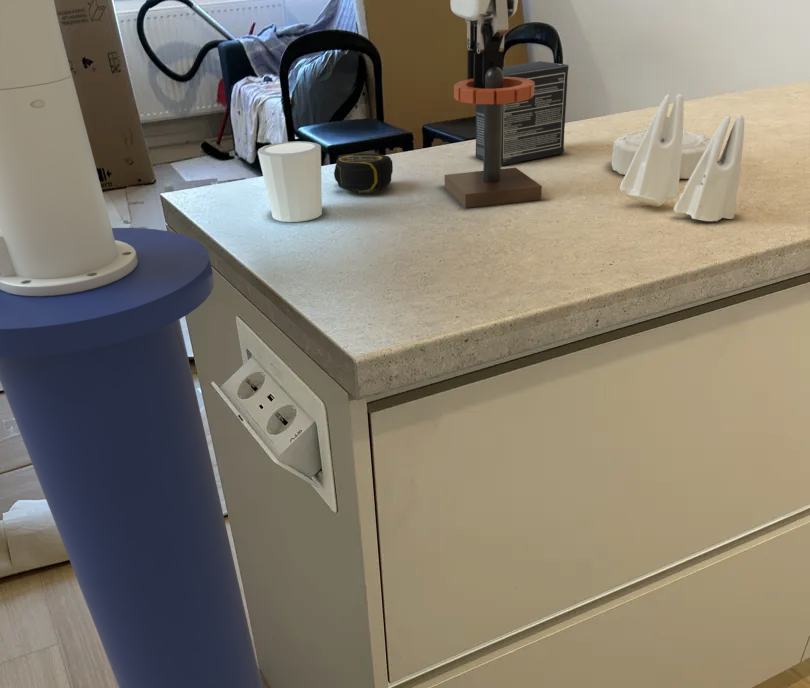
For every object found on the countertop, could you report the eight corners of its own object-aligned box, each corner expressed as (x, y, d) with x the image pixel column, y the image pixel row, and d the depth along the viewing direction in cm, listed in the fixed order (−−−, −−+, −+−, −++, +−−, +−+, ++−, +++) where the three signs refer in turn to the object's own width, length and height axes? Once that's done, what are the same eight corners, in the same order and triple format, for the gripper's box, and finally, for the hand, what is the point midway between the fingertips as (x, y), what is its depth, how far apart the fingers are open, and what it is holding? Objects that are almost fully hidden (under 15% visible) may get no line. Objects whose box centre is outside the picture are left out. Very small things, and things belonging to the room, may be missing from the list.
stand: (465, 208, 90) (466, 76, 82) (444, 187, 97) (443, 64, 89) (541, 199, 91) (549, 69, 83) (515, 180, 98) (520, 58, 90)
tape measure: (394, 181, 100) (392, 149, 98) (389, 197, 95) (387, 163, 92) (340, 183, 101) (337, 150, 98) (332, 198, 95) (329, 164, 93)
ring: (466, 107, 84) (466, 93, 84) (446, 93, 91) (446, 80, 90) (544, 100, 85) (545, 86, 85) (518, 87, 92) (519, 74, 91)
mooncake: (632, 153, 107) (636, 123, 104) (723, 162, 101) (729, 131, 99) (595, 174, 99) (598, 142, 97) (691, 185, 93) (697, 152, 91)
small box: (536, 145, 112) (541, 58, 106) (565, 154, 108) (572, 64, 101) (472, 157, 108) (473, 68, 102) (499, 166, 104) (502, 74, 97)
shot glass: (307, 202, 95) (300, 137, 90) (339, 214, 90) (333, 146, 86) (256, 214, 91) (246, 147, 87) (285, 227, 87) (276, 158, 83)
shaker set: (614, 207, 88) (627, 94, 81) (634, 198, 90) (648, 87, 84) (718, 227, 81) (741, 105, 75) (736, 217, 84) (761, 97, 77)
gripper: (431, -114, 85) (434, 83, 96) (474, -119, 73) (472, 107, 84) (499, -117, 86) (494, 78, 98) (552, -123, 74) (540, 100, 85)
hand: (484, 90), depth 91 cm, fingers closed on ring, 1 cm apart
